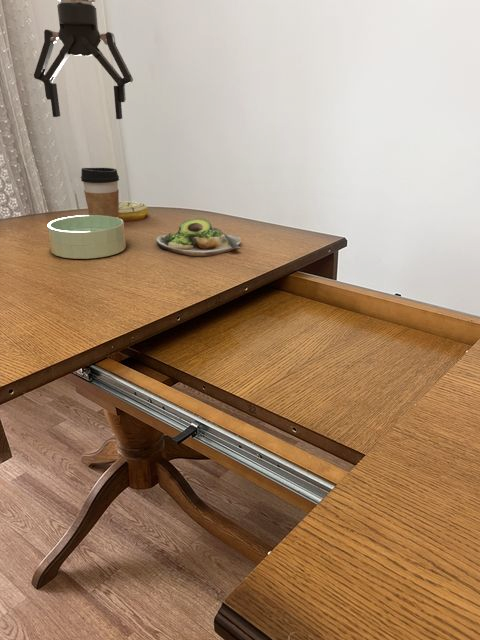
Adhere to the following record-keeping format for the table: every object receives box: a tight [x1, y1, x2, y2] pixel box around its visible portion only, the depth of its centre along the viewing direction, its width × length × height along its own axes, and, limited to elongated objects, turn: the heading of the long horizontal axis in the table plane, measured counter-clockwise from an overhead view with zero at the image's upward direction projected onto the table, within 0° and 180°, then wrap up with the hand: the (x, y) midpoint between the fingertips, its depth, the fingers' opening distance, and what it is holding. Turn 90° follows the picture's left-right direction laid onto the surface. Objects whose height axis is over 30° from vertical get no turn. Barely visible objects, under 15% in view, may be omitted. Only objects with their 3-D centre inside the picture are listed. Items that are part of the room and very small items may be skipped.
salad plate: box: [155, 218, 241, 257], centre depth 120 cm, size 19×18×5 cm
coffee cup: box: [80, 167, 120, 218], centre depth 127 cm, size 8×8×15 cm
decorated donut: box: [119, 201, 149, 222], centre depth 144 cm, size 10×11×4 cm
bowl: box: [47, 214, 127, 260], centre depth 115 cm, size 15×15×6 cm
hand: (88, 117), depth 119 cm, fingers open, 13 cm apart
